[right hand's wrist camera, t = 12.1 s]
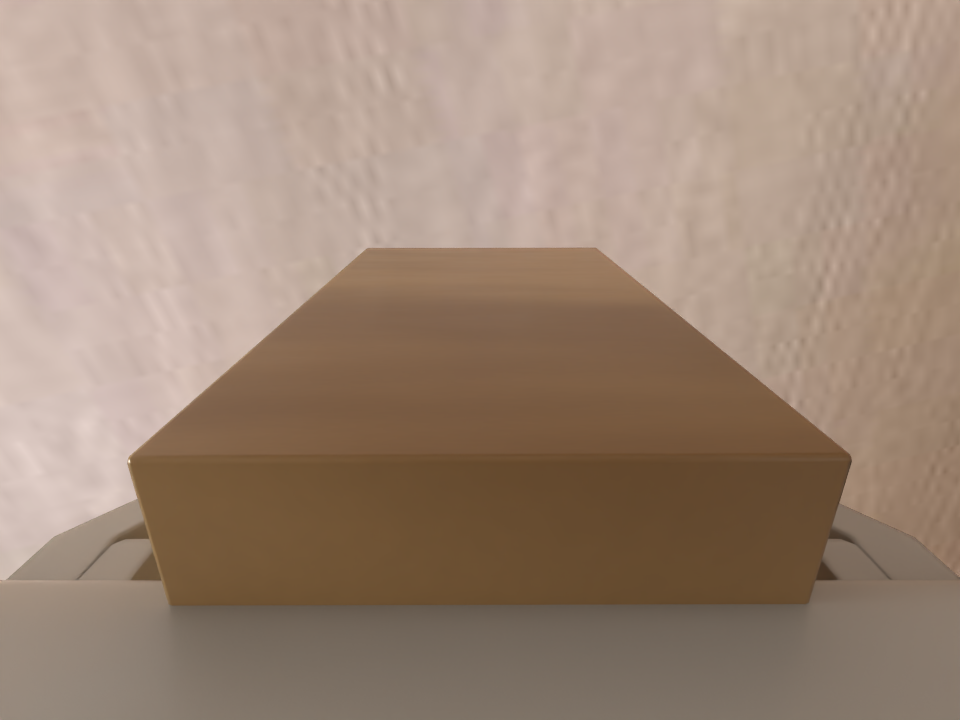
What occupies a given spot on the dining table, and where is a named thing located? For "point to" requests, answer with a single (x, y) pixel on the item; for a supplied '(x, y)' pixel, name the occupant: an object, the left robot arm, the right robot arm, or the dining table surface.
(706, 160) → the dining table surface
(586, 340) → the bar
